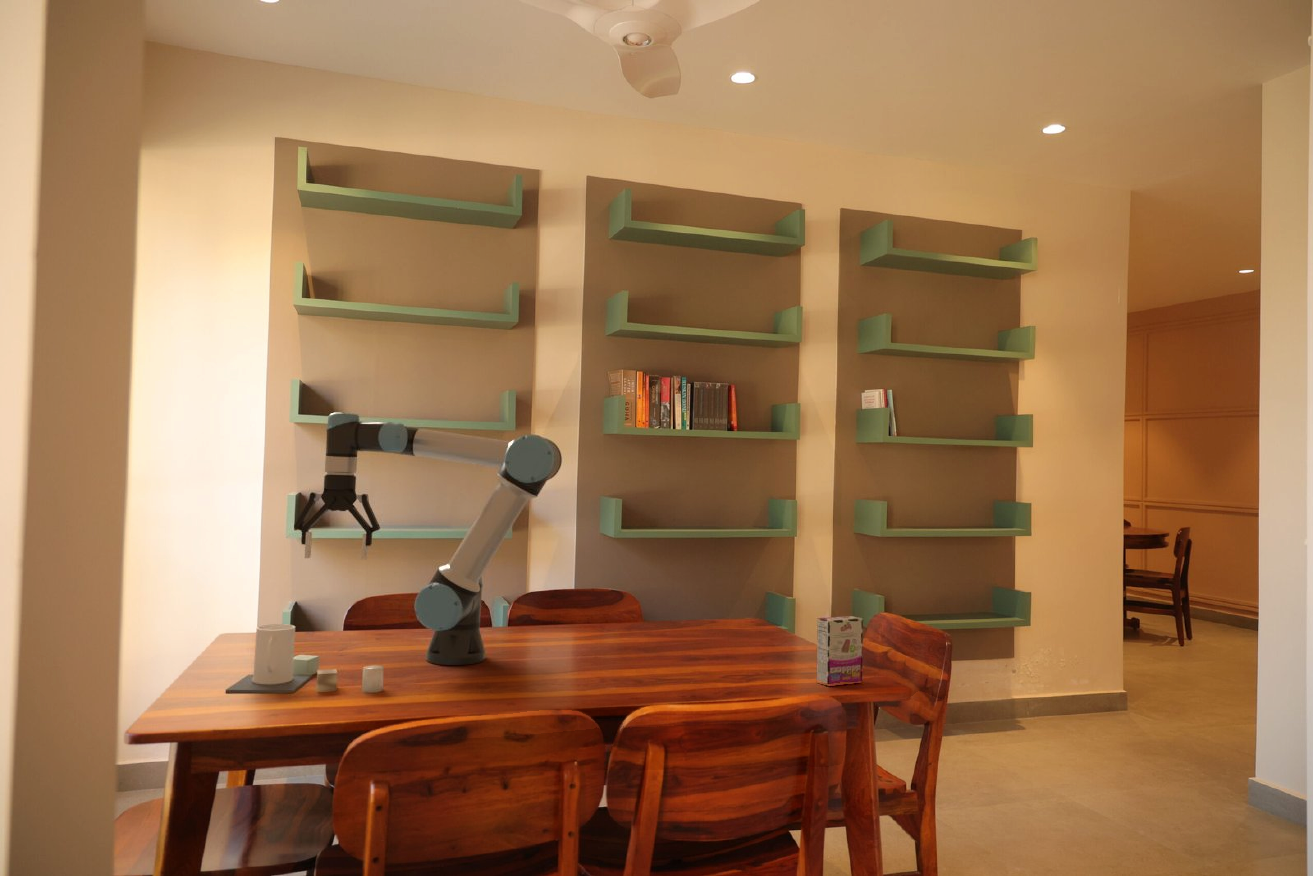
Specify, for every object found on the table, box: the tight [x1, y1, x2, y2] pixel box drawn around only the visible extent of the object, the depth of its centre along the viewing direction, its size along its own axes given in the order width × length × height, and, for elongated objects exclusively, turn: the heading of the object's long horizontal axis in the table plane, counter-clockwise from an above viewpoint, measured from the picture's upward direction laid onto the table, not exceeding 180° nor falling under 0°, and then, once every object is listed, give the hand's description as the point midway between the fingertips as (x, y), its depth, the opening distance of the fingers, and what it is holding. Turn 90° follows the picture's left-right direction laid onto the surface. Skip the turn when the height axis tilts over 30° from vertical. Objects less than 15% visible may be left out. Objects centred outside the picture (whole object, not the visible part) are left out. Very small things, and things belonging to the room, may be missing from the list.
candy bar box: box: [816, 615, 864, 684], centre depth 210 cm, size 11×5×16 cm, turn 117°
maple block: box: [316, 668, 338, 693], centre depth 186 cm, size 4×4×4 cm
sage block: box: [293, 654, 320, 676], centre depth 199 cm, size 5×5×4 cm
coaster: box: [225, 674, 312, 694], centre depth 187 cm, size 14×14×1 cm
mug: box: [252, 623, 296, 685], centre depth 188 cm, size 12×8×12 cm
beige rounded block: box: [361, 664, 385, 694], centre depth 186 cm, size 4×4×5 cm
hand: (335, 558), depth 209 cm, fingers open, 13 cm apart
